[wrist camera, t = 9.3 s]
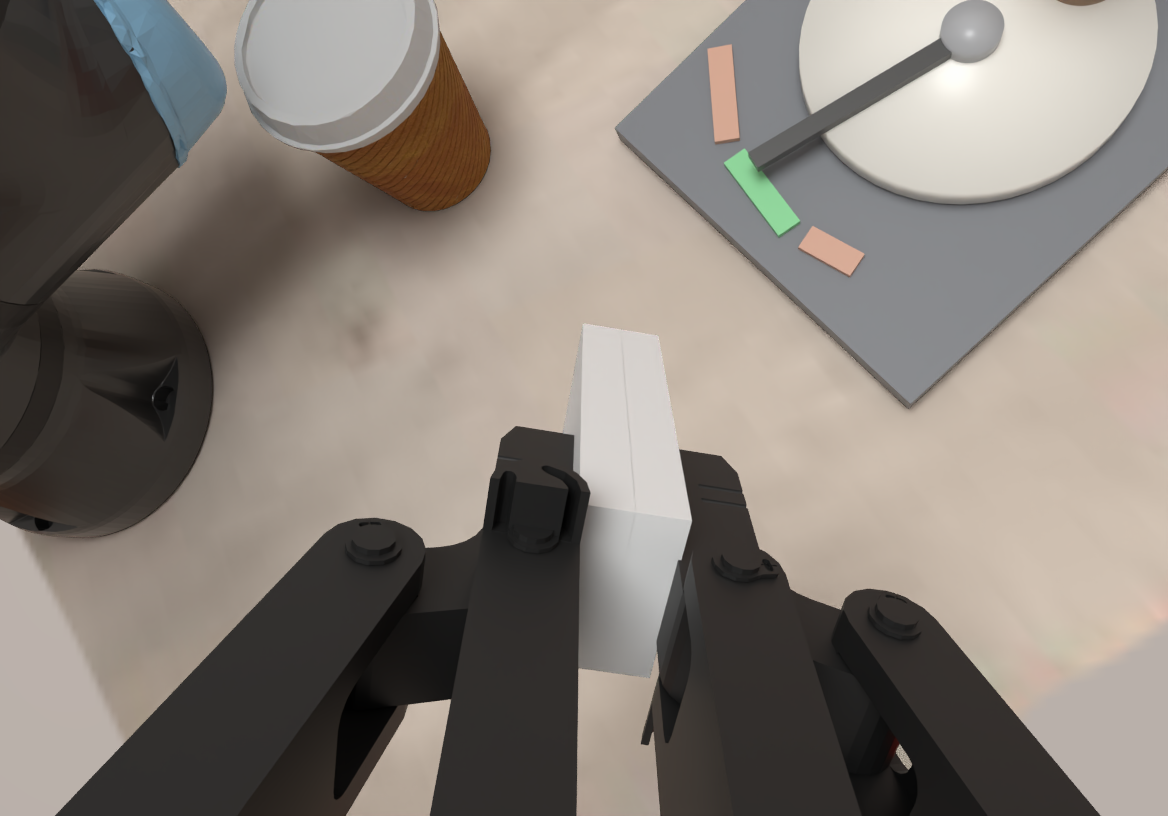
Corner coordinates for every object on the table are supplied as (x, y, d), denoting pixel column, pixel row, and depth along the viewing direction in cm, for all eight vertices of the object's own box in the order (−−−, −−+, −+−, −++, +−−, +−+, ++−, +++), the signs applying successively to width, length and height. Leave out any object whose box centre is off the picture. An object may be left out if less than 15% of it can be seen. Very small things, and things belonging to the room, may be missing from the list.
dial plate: (619, 138, 47) (613, 125, 46) (979, -212, 46) (984, -238, 44) (908, 408, 41) (911, 402, 40) (1335, 15, 40) (1354, -7, 38)
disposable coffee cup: (371, 260, 50) (236, 165, 38) (348, 108, 52) (214, -25, 40) (534, 210, 48) (443, 94, 36) (502, 54, 50) (407, -102, 38)
